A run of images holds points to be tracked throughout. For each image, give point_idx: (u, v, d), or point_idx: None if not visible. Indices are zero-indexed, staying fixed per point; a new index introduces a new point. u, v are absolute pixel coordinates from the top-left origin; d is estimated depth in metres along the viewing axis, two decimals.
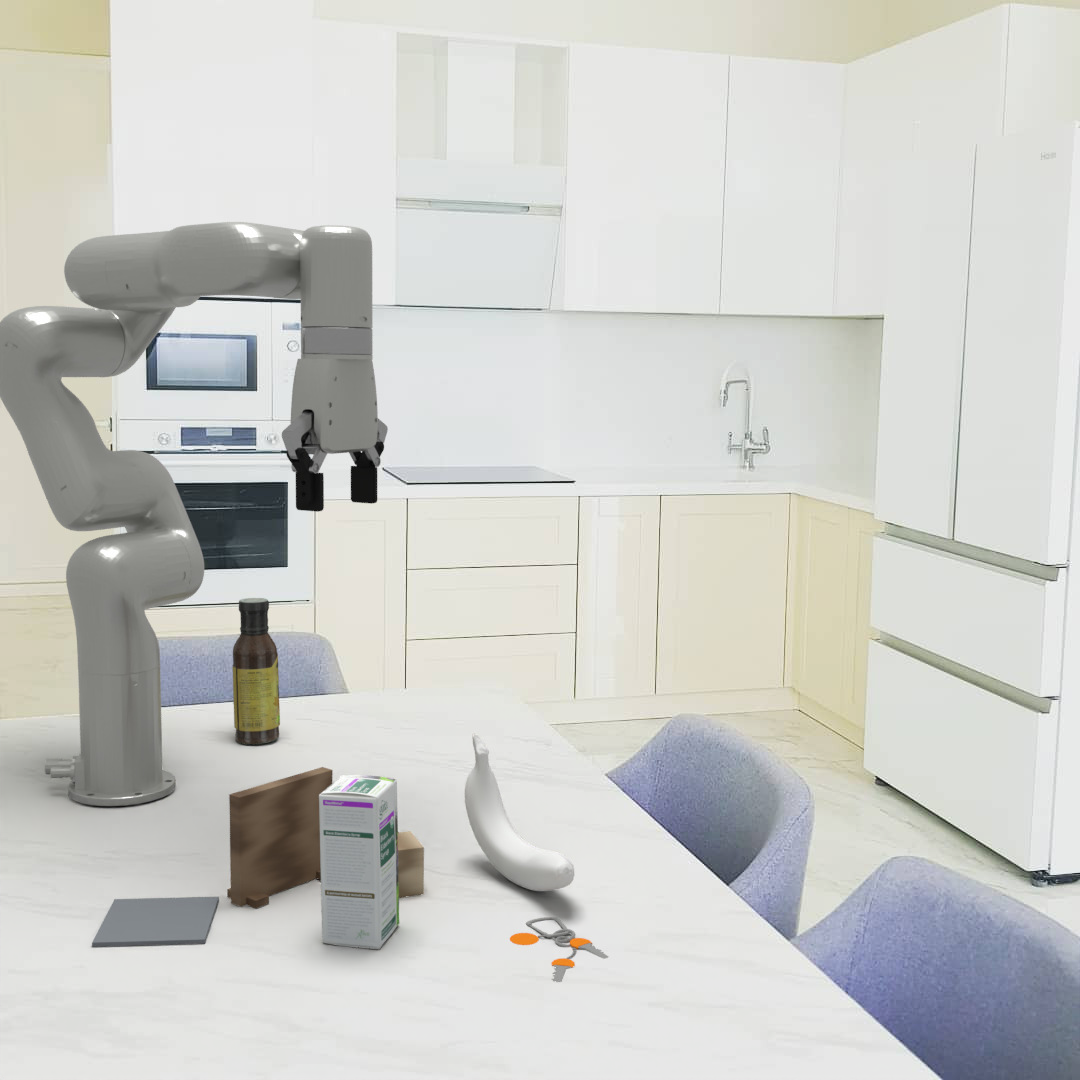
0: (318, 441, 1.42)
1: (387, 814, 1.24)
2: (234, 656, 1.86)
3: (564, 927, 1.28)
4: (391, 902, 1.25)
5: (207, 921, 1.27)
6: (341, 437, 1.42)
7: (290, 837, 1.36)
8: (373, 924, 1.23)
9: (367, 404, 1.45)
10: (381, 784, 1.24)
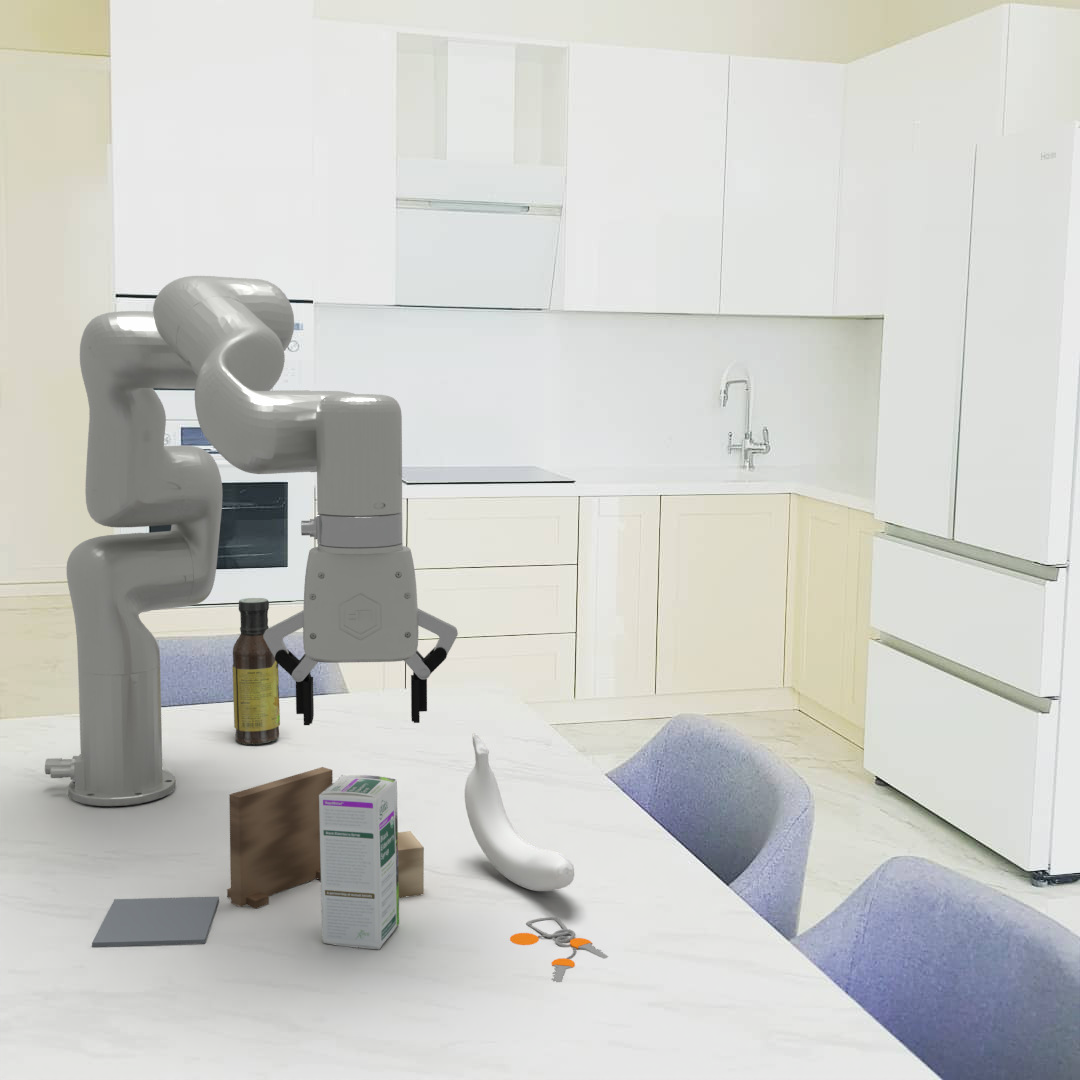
0: None
1: (387, 814, 1.24)
2: (234, 656, 1.86)
3: (564, 927, 1.28)
4: (391, 902, 1.25)
5: (207, 921, 1.27)
6: None
7: (290, 837, 1.36)
8: (373, 924, 1.23)
9: None
10: (380, 784, 1.24)
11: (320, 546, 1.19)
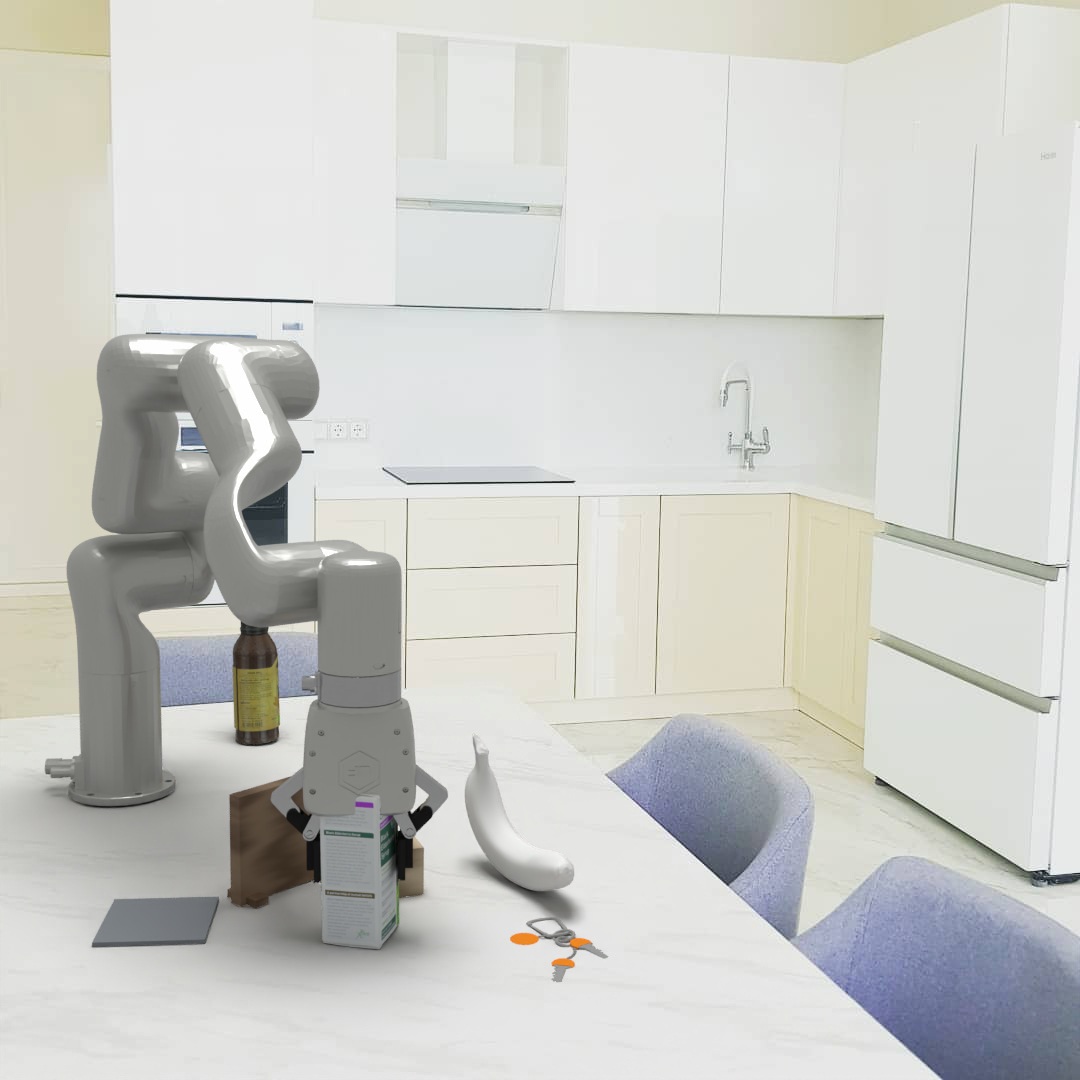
0: None
1: None
2: (234, 656, 1.86)
3: (564, 927, 1.28)
4: (391, 902, 1.25)
5: (207, 921, 1.27)
6: None
7: (290, 837, 1.36)
8: (373, 924, 1.23)
9: None
10: None
11: (320, 703, 1.21)
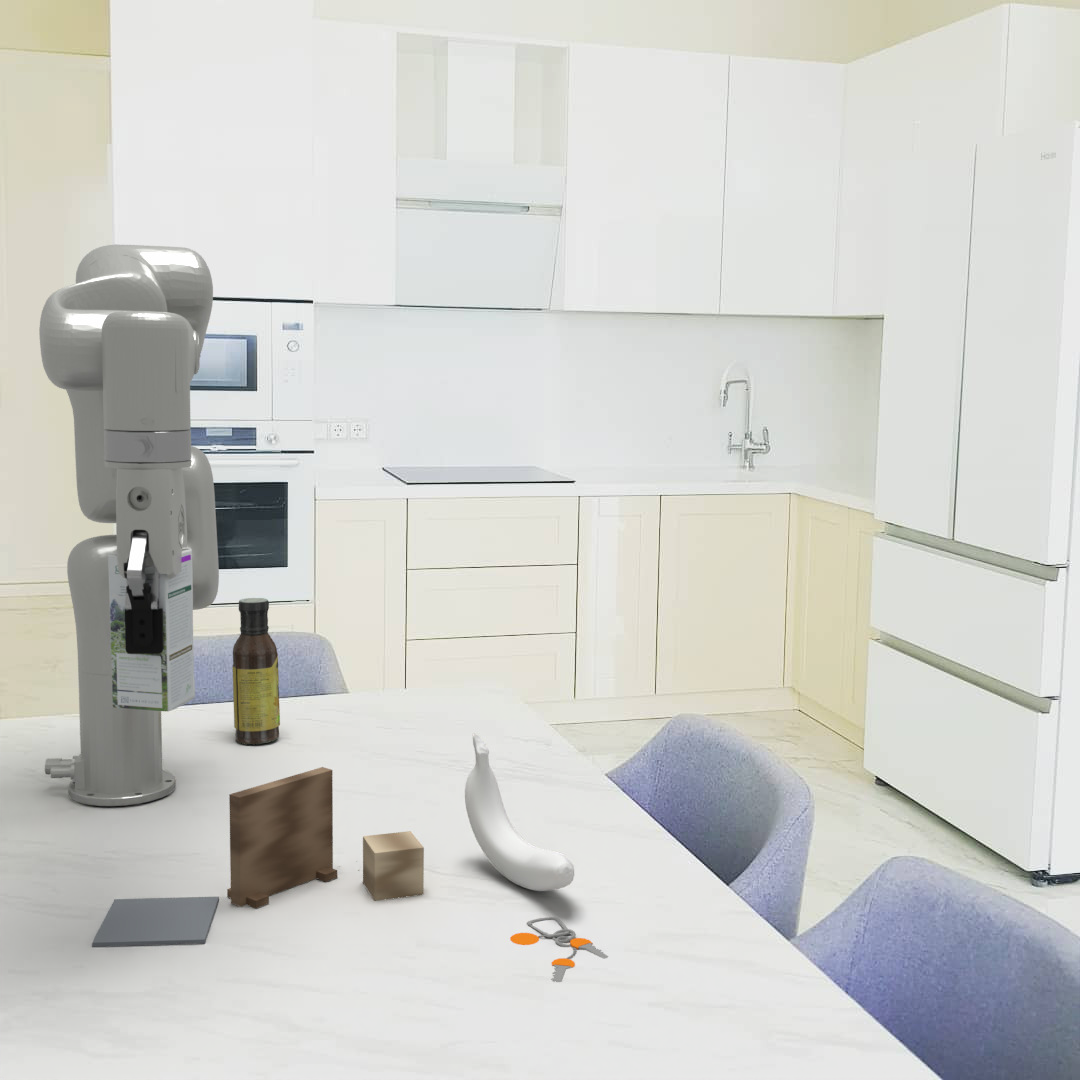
0: None
1: None
2: (234, 656, 1.86)
3: (565, 927, 1.28)
4: None
5: (207, 921, 1.27)
6: None
7: (290, 837, 1.36)
8: (192, 675, 1.26)
9: None
10: None
11: (157, 464, 1.19)
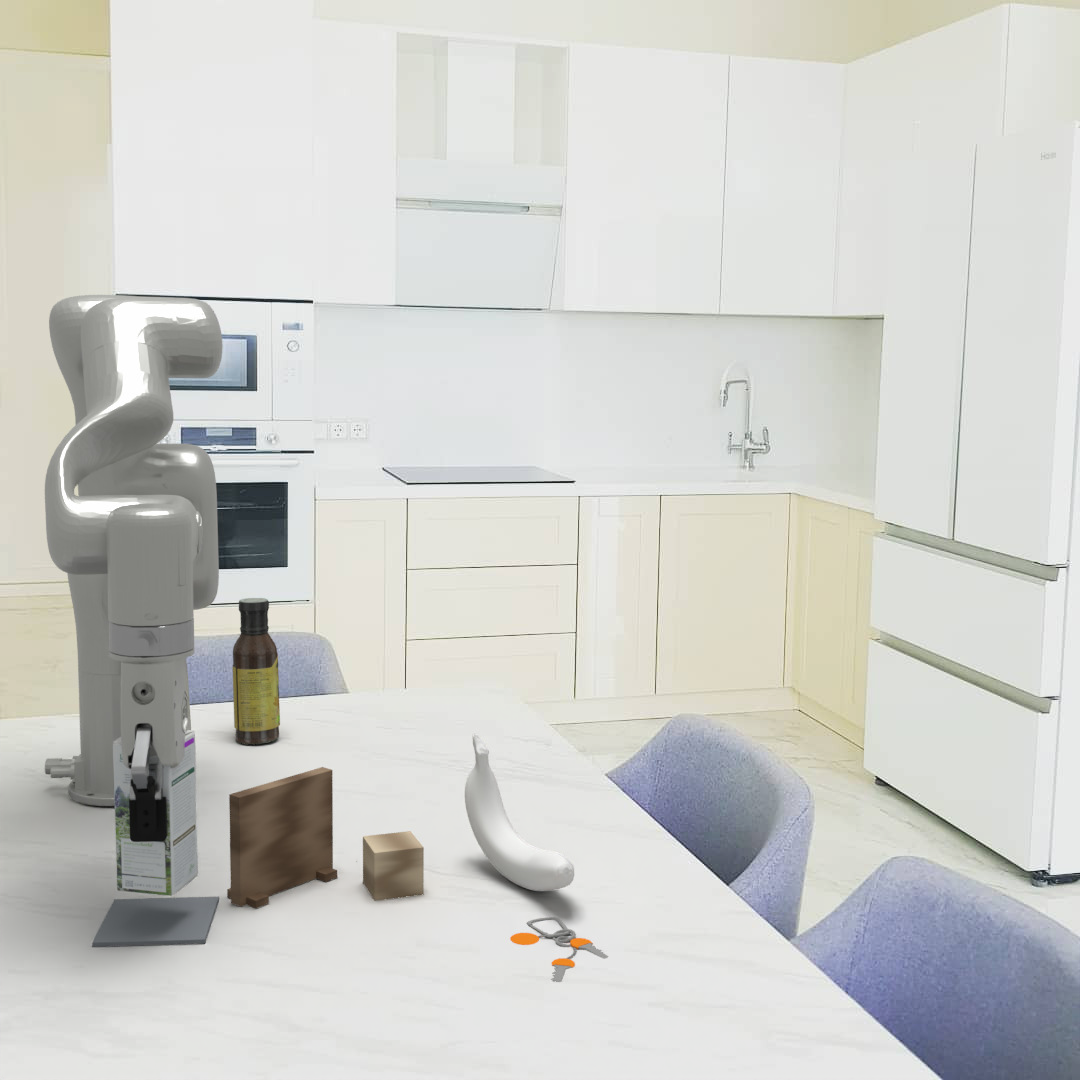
0: None
1: None
2: (234, 656, 1.86)
3: (565, 927, 1.28)
4: None
5: (207, 921, 1.27)
6: None
7: (290, 837, 1.36)
8: (195, 853, 1.29)
9: None
10: None
11: (161, 657, 1.21)
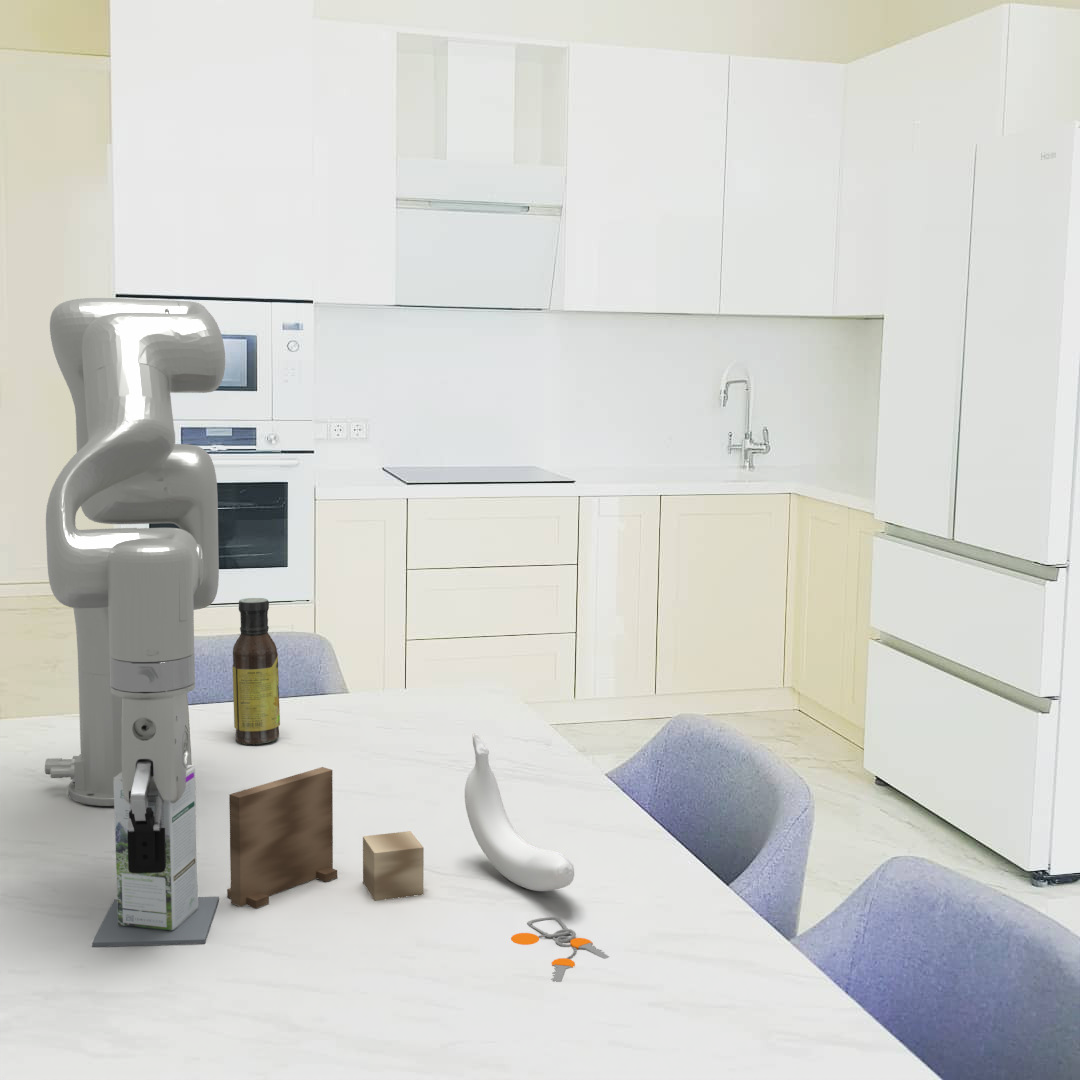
0: None
1: None
2: (234, 656, 1.86)
3: (565, 927, 1.28)
4: None
5: (207, 921, 1.27)
6: None
7: (290, 837, 1.36)
8: (195, 887, 1.29)
9: None
10: None
11: (162, 693, 1.22)
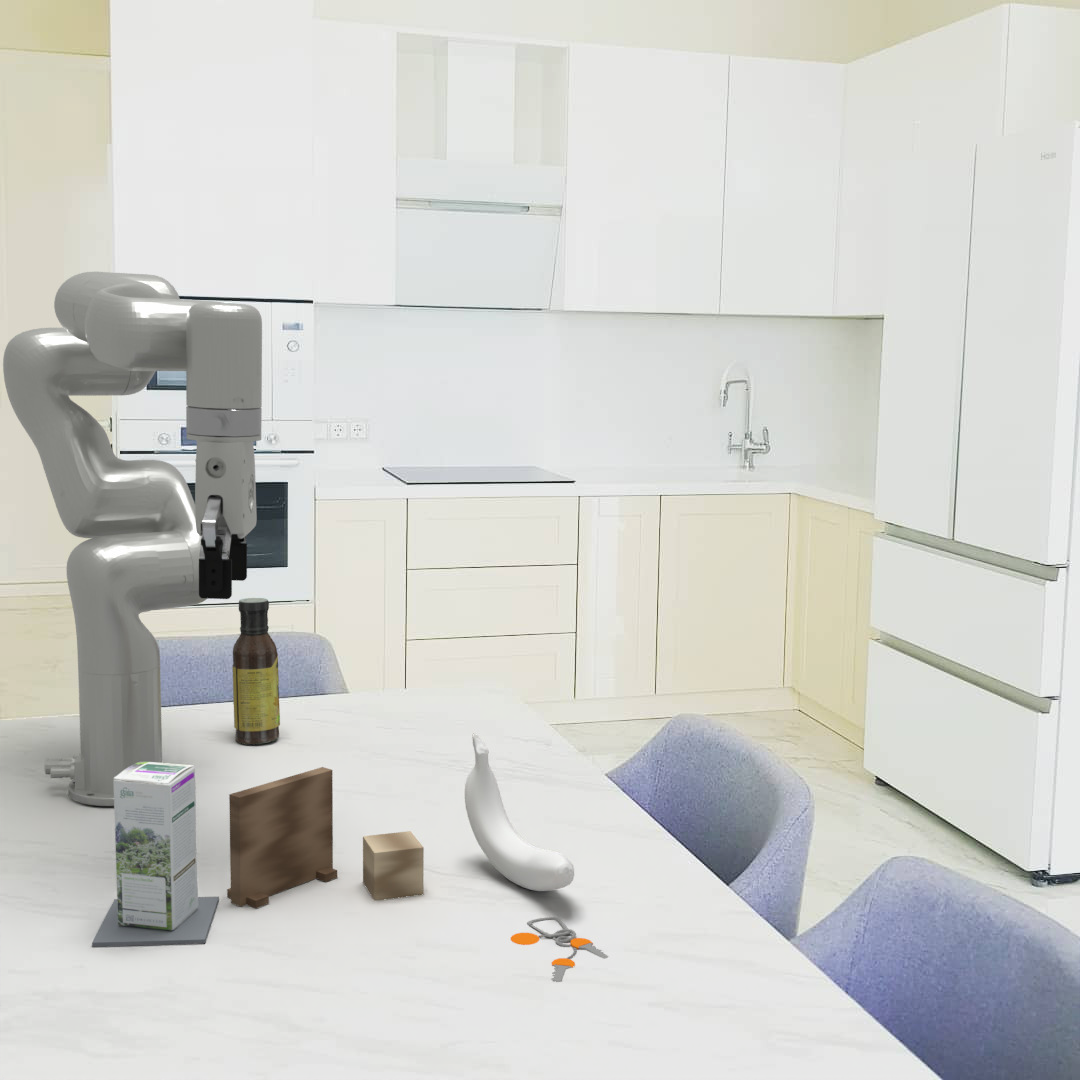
0: None
1: None
2: (234, 656, 1.86)
3: (565, 927, 1.28)
4: None
5: (207, 921, 1.27)
6: None
7: (290, 837, 1.36)
8: (195, 887, 1.29)
9: None
10: (158, 764, 1.28)
11: (232, 438, 1.36)
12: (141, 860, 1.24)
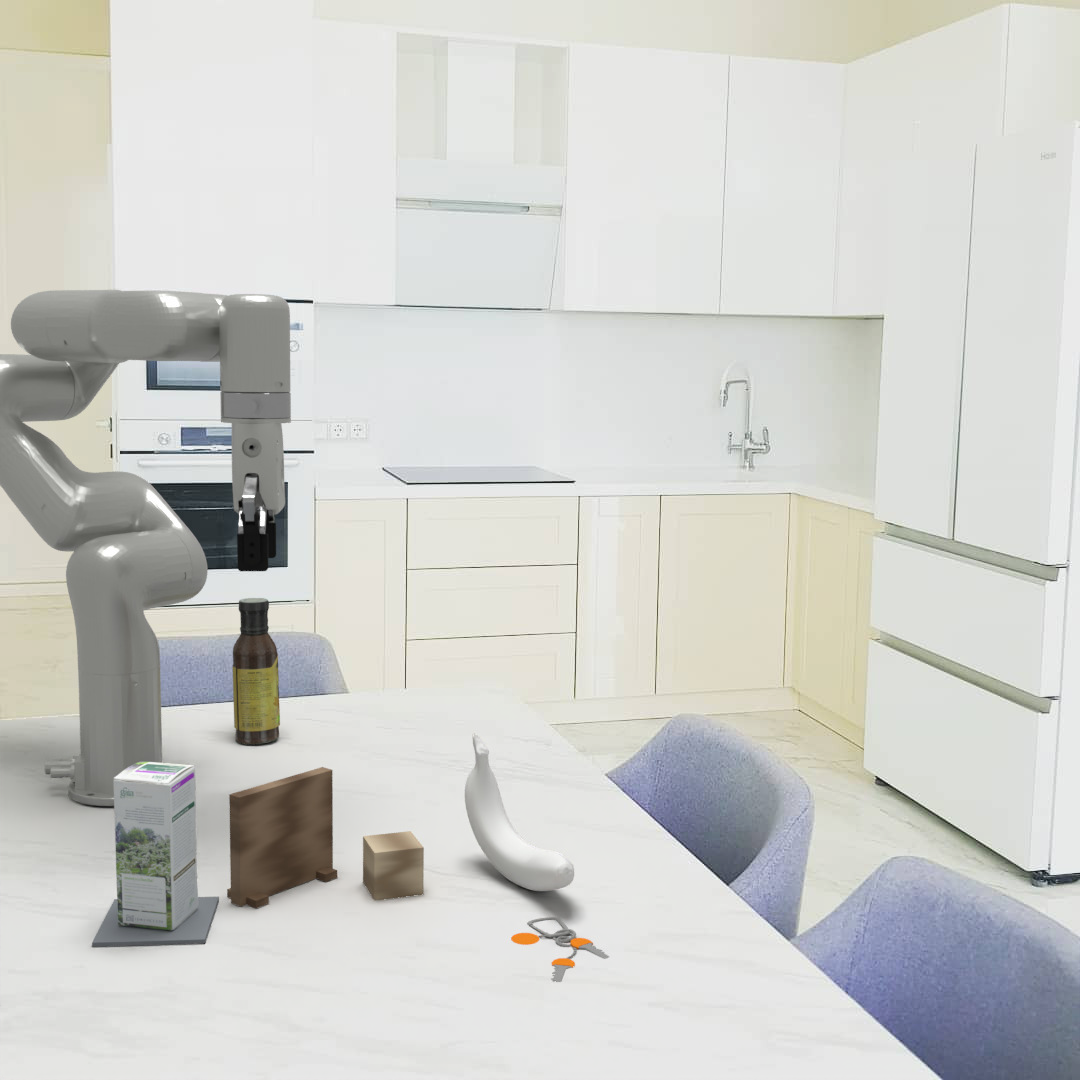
0: None
1: None
2: (234, 656, 1.86)
3: (565, 927, 1.28)
4: None
5: (207, 921, 1.27)
6: None
7: (290, 837, 1.36)
8: (195, 887, 1.29)
9: None
10: (158, 764, 1.28)
11: (266, 419, 1.45)
12: (141, 860, 1.24)
